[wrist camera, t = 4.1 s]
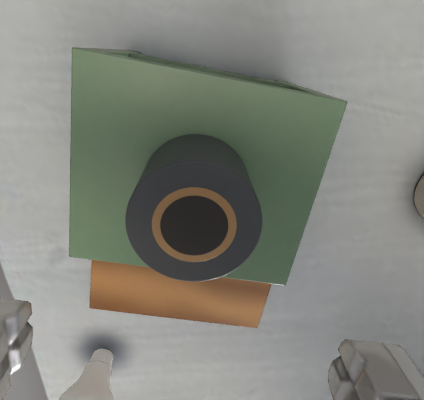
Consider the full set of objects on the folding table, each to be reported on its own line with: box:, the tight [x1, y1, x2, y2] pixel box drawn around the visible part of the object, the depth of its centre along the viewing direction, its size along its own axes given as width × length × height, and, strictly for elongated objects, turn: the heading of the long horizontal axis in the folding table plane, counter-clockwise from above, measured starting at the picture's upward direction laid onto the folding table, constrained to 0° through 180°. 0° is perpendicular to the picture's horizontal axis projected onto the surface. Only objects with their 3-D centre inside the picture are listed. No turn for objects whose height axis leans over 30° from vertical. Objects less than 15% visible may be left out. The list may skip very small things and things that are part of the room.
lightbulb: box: [59, 349, 113, 400], centre depth 36 cm, size 6×6×11 cm
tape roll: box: [125, 134, 263, 282], centre depth 17 cm, size 6×6×5 cm
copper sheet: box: [90, 260, 271, 328], centre depth 36 cm, size 14×20×1 cm
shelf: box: [69, 48, 347, 285], centre depth 25 cm, size 12×14×13 cm
